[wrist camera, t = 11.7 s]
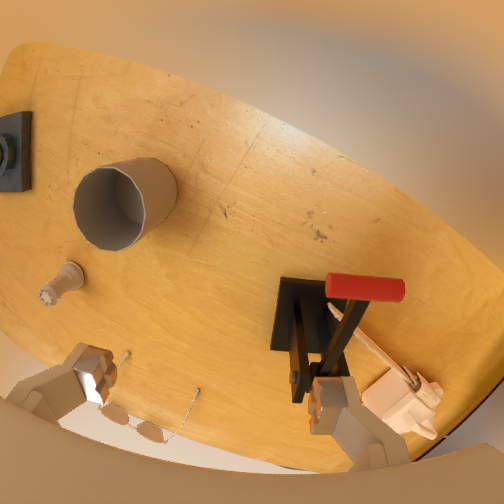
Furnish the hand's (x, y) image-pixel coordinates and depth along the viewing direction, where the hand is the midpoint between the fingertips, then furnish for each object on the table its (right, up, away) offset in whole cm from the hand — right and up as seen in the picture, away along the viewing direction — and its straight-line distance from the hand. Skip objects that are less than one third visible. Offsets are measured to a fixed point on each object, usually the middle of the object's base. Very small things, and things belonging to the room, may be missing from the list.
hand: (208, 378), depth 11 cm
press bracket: (+9, -4, +29) cm, 31 cm away
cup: (-11, +12, +24) cm, 29 cm away
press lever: (+9, -2, +14) cm, 17 cm away
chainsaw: (+21, -15, +33) cm, 42 cm away
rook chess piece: (-25, +2, +29) cm, 39 cm away
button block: (-36, +20, +22) cm, 47 cm away
